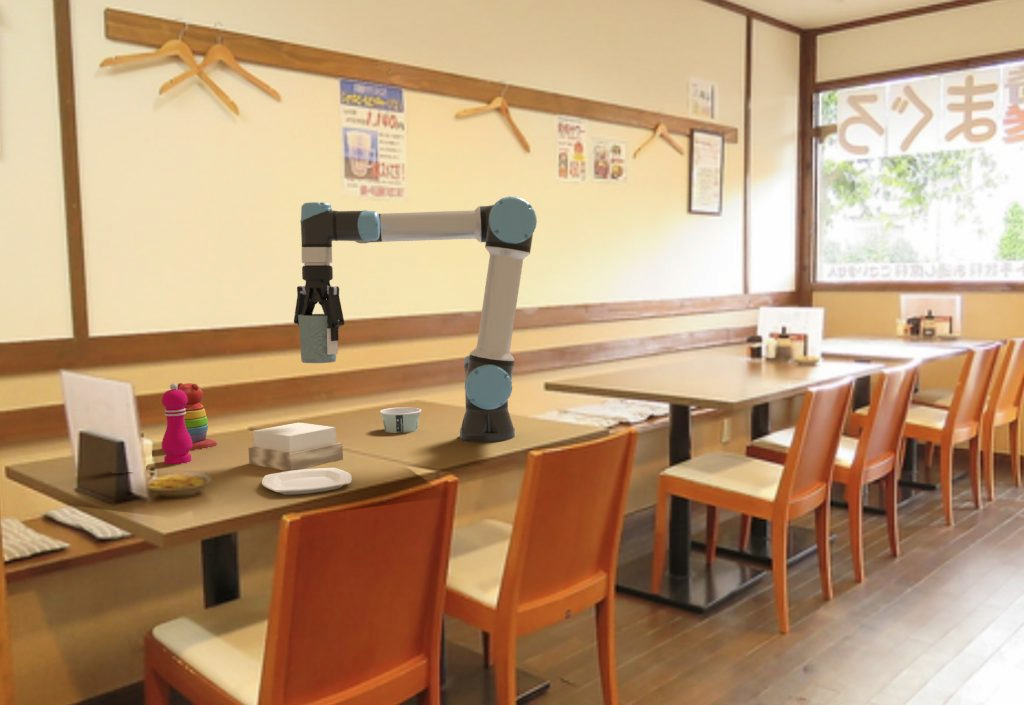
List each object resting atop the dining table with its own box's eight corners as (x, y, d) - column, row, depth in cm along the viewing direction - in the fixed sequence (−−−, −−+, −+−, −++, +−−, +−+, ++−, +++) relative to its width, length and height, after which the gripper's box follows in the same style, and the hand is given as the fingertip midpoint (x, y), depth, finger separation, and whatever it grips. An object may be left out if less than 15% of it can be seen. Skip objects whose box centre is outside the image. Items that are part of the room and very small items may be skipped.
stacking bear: (220, 445, 242) (217, 381, 241) (193, 452, 233) (189, 386, 232) (190, 443, 247) (187, 380, 245) (162, 450, 238) (159, 384, 236)
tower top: (336, 443, 219) (335, 427, 219) (290, 452, 208) (289, 436, 208) (299, 437, 228) (299, 422, 227) (254, 446, 217) (253, 430, 216)
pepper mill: (157, 463, 221) (152, 383, 219) (184, 458, 227) (180, 380, 225) (170, 466, 216) (166, 385, 215) (198, 461, 222) (194, 382, 220)
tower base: (343, 462, 220) (342, 443, 219) (291, 475, 207) (290, 454, 207) (301, 455, 230) (300, 436, 229) (249, 467, 217) (248, 447, 217)
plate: (268, 502, 182) (268, 493, 182) (256, 482, 200) (256, 474, 199) (360, 491, 189) (360, 482, 189) (341, 473, 207) (340, 465, 207)
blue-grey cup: (302, 359, 230) (301, 313, 229) (342, 359, 230) (341, 313, 229) (296, 363, 220) (295, 315, 218) (337, 363, 220) (336, 315, 219)
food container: (424, 434, 253) (424, 412, 252) (382, 437, 250) (382, 414, 250) (418, 427, 265) (418, 406, 264) (378, 430, 262) (377, 408, 261)
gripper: (358, 264, 219) (359, 354, 221) (301, 265, 233) (303, 349, 235) (334, 264, 213) (336, 356, 215) (277, 265, 227) (280, 351, 229)
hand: (319, 352), depth 225 cm, fingers closed on blue-grey cup, 10 cm apart
